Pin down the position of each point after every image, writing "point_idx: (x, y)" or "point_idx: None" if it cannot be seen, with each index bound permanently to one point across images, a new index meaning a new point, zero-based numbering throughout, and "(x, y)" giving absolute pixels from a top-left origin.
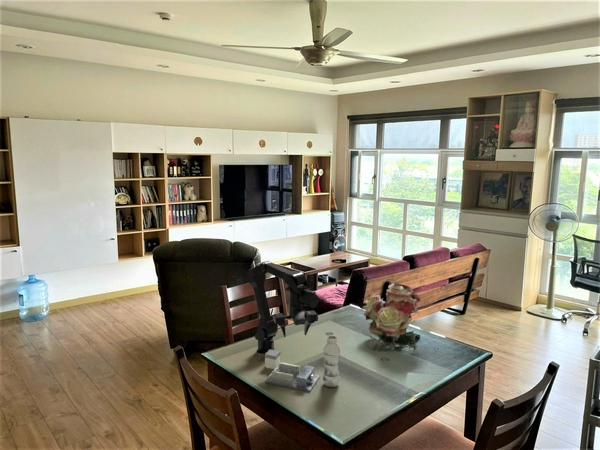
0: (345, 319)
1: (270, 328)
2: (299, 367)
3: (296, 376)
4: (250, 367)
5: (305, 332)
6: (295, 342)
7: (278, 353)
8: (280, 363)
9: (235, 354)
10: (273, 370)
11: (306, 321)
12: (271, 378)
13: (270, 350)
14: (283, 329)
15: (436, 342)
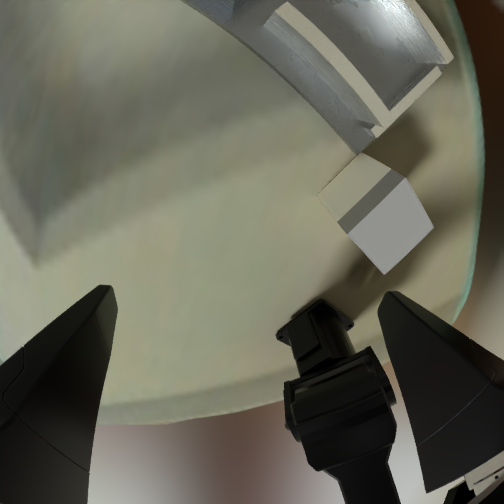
0: None
1: (361, 412)
2: (282, 5)
3: (297, 9)
4: (433, 215)
5: (93, 312)
6: (168, 355)
7: (370, 210)
8: (387, 109)
9: None
10: (403, 111)
11: (42, 488)
12: (421, 66)
13: (389, 261)
14: (484, 355)
15: None
